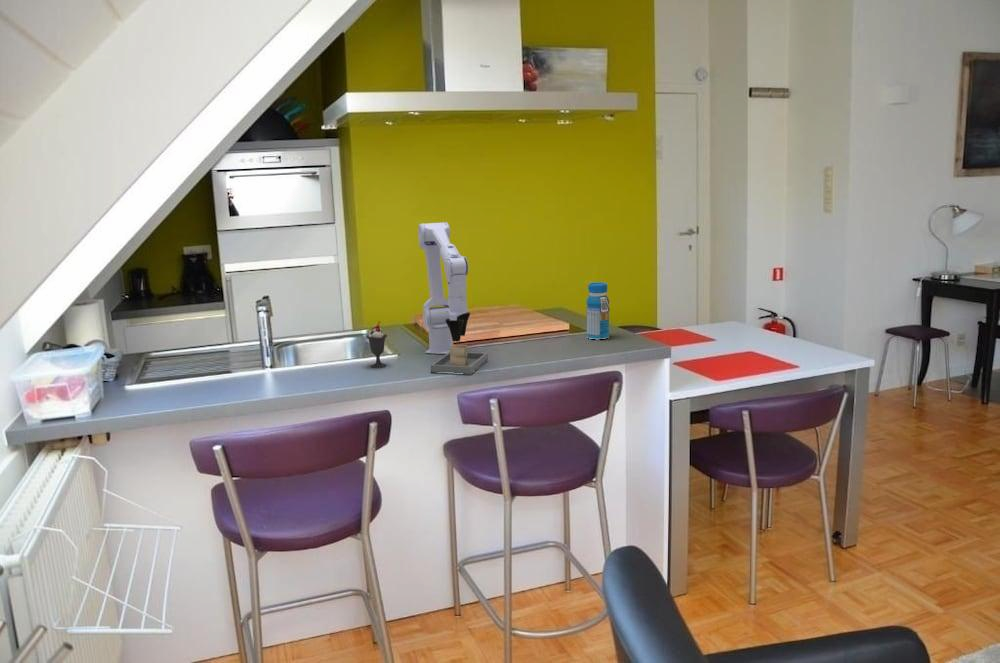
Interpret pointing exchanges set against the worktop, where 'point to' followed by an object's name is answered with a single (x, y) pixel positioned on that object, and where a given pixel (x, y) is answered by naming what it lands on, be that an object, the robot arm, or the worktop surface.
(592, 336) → the beverage bottle
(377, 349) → the sundae
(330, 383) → the worktop surface
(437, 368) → the tray
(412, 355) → the worktop surface
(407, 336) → the worktop surface
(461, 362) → the block
